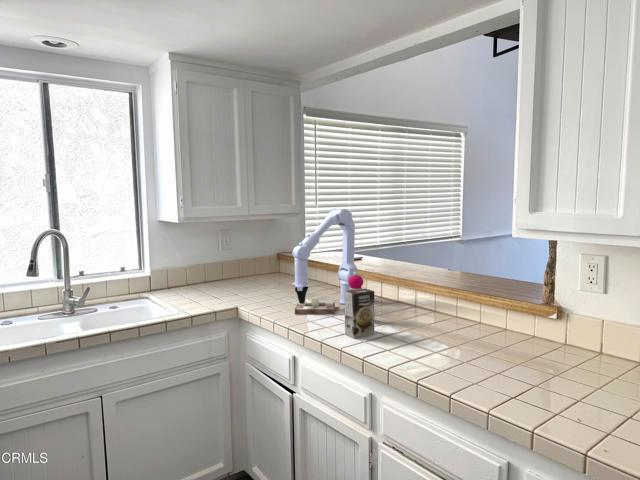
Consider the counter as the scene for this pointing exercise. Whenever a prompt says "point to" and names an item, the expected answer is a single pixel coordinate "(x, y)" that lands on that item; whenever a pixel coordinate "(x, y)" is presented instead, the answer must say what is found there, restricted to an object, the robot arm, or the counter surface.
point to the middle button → (315, 302)
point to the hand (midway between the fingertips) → (301, 303)
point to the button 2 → (329, 304)
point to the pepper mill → (355, 282)
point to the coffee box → (359, 313)
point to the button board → (315, 309)
